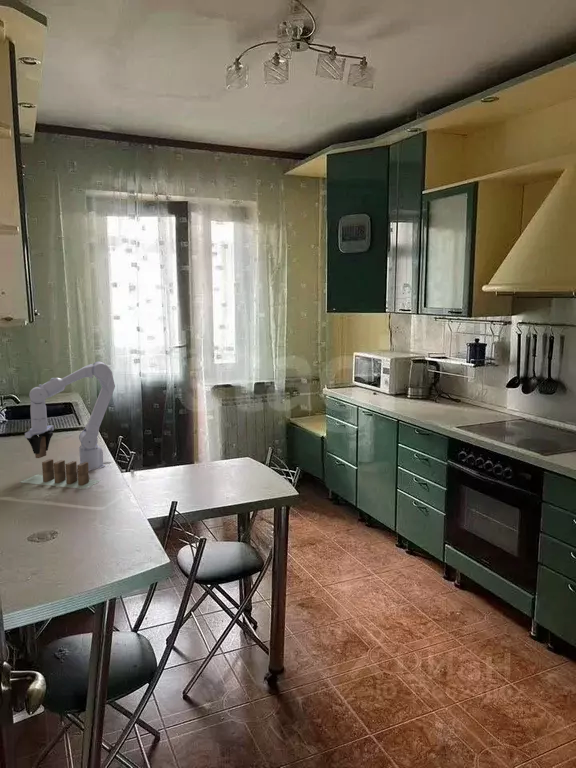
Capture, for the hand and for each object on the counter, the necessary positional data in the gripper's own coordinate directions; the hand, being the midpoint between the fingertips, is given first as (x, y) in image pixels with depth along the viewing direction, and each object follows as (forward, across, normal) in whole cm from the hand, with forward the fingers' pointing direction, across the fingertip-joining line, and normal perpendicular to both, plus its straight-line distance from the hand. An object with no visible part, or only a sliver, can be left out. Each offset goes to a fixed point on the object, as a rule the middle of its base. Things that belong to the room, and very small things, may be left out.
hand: (40, 452), depth 228 cm
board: (+9, +8, +14) cm, 18 cm away
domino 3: (+8, +8, +14) cm, 18 cm away
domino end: (+8, +8, +24) cm, 27 cm away
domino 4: (+8, +8, +19) cm, 22 cm away
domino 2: (+8, +8, +9) cm, 15 cm away
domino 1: (+2, 0, 0) cm, 2 cm away
